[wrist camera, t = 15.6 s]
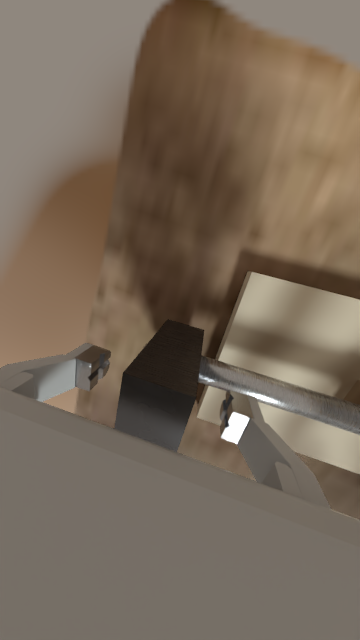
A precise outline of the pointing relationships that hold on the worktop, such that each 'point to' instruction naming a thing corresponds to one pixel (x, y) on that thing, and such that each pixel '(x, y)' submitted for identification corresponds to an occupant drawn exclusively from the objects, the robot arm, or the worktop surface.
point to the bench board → (295, 359)
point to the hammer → (191, 367)
